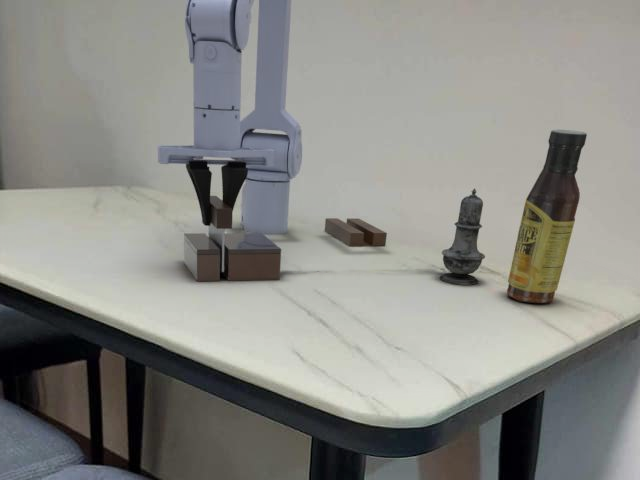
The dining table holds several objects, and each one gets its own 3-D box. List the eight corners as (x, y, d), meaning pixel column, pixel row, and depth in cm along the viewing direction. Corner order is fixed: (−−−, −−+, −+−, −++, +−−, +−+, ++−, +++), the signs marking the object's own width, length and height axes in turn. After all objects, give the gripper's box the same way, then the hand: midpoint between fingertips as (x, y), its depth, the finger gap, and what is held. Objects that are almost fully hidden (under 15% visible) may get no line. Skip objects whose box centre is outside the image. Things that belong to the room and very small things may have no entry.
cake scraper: (201, 255, 102) (201, 195, 98) (215, 255, 103) (216, 195, 99) (216, 273, 94) (216, 208, 90) (231, 272, 95) (232, 208, 91)
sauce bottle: (500, 290, 98) (532, 126, 88) (546, 293, 98) (584, 129, 88) (512, 304, 92) (548, 130, 82) (561, 307, 92) (603, 134, 82)
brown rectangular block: (184, 262, 102) (183, 233, 100) (205, 262, 103) (205, 233, 101) (197, 281, 94) (196, 249, 92) (219, 280, 95) (220, 249, 93)
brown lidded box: (213, 262, 103) (213, 233, 101) (260, 261, 105) (261, 233, 103) (228, 280, 95) (228, 249, 93) (279, 279, 97) (281, 248, 95)
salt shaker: (481, 287, 99) (498, 193, 93) (437, 282, 100) (452, 189, 94) (479, 277, 104) (496, 187, 98) (437, 272, 105) (451, 183, 99)
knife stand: (324, 236, 123) (325, 218, 122) (357, 236, 125) (359, 218, 123) (349, 253, 113) (350, 233, 112) (384, 252, 115) (387, 232, 114)
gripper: (162, 108, 84) (165, 230, 91) (282, 113, 88) (277, 230, 95) (154, 104, 90) (157, 219, 97) (267, 109, 94) (263, 220, 100)
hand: (216, 224), depth 96 cm, fingers closed on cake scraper, 2 cm apart
